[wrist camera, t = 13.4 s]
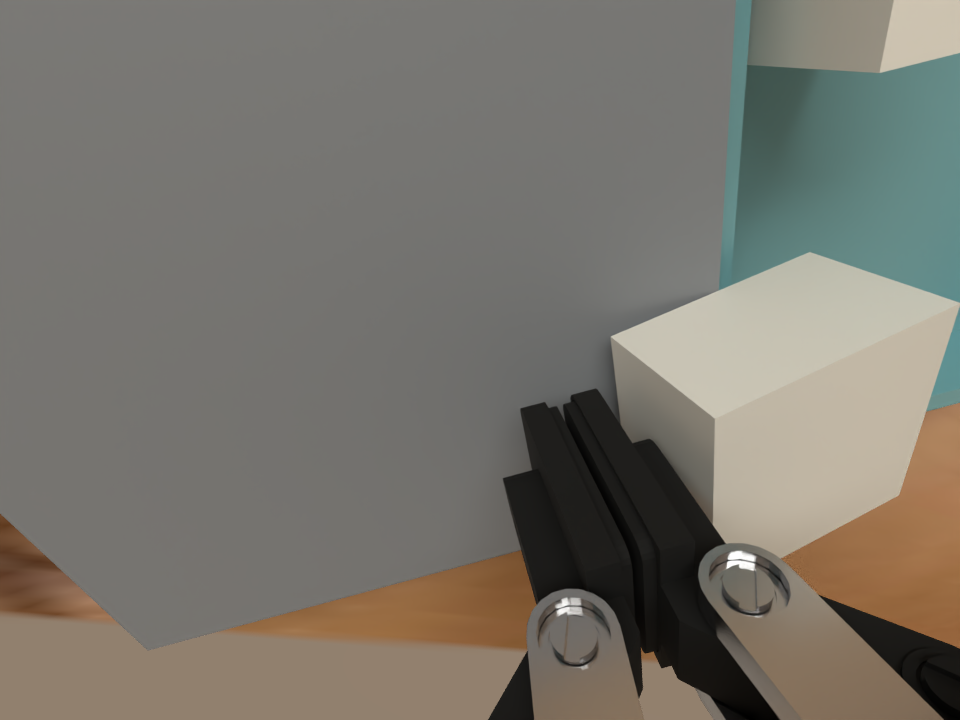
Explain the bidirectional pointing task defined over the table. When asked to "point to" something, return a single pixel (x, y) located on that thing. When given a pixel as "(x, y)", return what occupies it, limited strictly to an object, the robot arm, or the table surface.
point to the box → (847, 175)
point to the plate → (326, 275)
